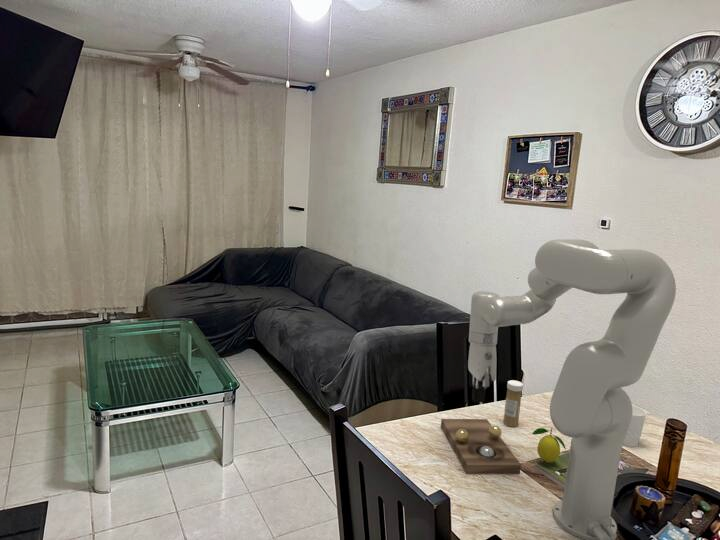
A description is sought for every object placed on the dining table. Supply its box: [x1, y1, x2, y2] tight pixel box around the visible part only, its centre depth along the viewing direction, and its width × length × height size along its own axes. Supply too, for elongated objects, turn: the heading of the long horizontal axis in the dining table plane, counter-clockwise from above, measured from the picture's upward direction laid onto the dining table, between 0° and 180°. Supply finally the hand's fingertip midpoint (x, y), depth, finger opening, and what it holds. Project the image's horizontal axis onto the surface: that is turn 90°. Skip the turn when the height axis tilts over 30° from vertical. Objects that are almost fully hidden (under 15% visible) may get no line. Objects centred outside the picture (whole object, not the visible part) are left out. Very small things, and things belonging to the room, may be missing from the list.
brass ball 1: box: [456, 429, 469, 443], centre depth 131 cm, size 4×4×4 cm
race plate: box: [440, 418, 522, 475], centre depth 133 cm, size 24×14×2 cm, turn 6°
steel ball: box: [479, 446, 494, 458], centre depth 127 cm, size 4×4×4 cm
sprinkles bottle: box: [502, 379, 524, 428], centre depth 148 cm, size 5×5×14 cm
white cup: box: [623, 404, 647, 448], centre depth 142 cm, size 8×8×10 cm
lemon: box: [531, 427, 567, 464], centre depth 127 cm, size 7×6×10 cm
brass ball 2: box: [488, 425, 502, 439], centre depth 134 cm, size 4×4×4 cm
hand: (478, 400), depth 135 cm, fingers closed
